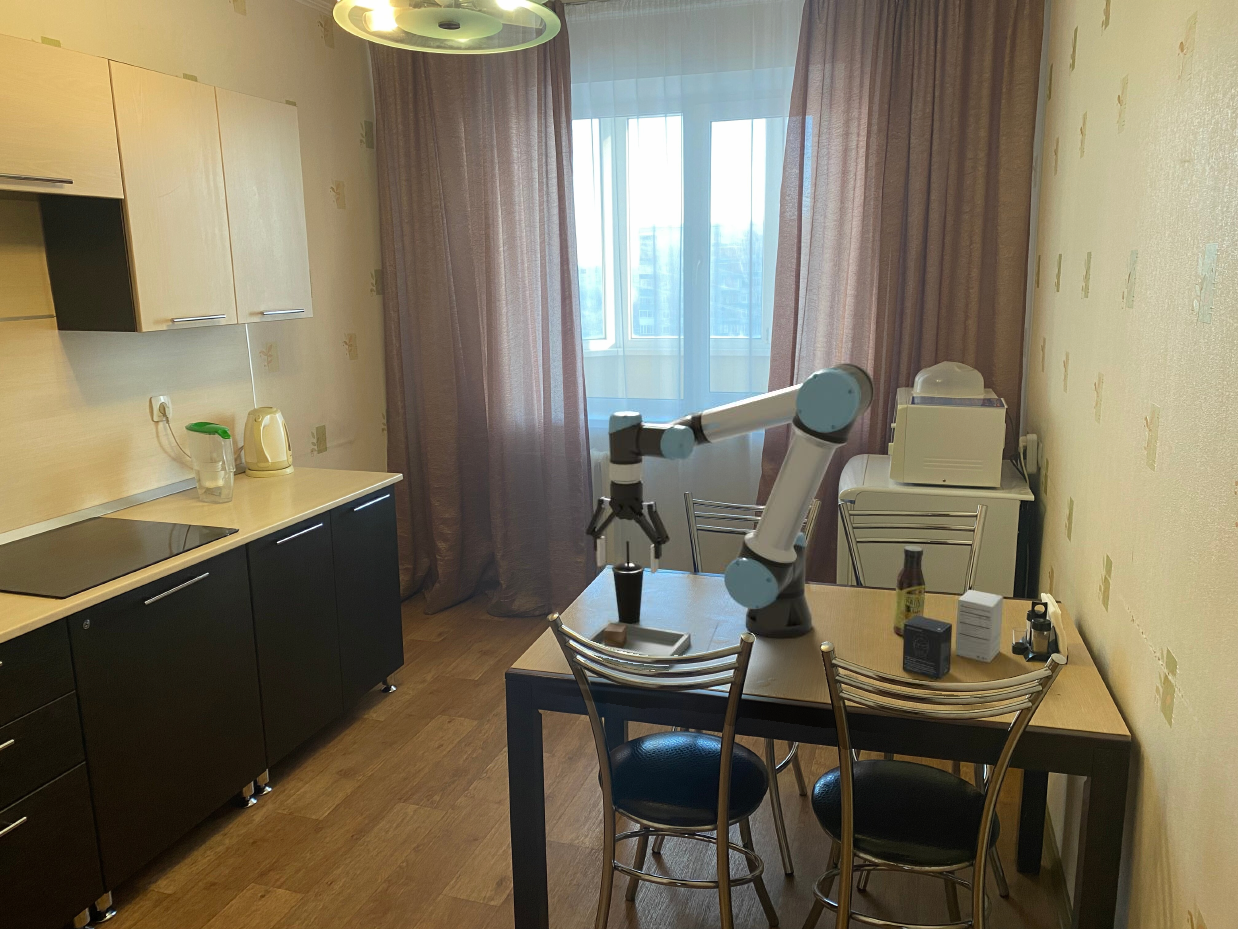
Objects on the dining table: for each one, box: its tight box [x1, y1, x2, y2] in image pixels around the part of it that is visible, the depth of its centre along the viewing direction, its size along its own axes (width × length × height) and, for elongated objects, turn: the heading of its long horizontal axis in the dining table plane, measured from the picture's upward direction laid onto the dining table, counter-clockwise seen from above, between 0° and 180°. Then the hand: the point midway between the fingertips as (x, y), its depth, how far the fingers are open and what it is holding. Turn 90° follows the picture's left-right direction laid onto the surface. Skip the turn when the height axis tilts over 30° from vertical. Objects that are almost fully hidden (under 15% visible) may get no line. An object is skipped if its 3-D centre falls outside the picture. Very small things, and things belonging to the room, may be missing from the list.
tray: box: [586, 620, 692, 669], centre depth 197 cm, size 20×14×3 cm
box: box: [902, 615, 953, 681], centre depth 183 cm, size 8×6×11 cm
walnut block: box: [604, 624, 627, 649], centre depth 199 cm, size 4×4×4 cm
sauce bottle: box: [893, 545, 927, 636], centre depth 201 cm, size 7×6×20 cm
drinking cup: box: [611, 540, 645, 625], centre depth 211 cm, size 8×8×20 cm
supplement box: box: [954, 589, 1004, 663], centre depth 191 cm, size 7×7×13 cm
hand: (627, 568), depth 210 cm, fingers open, 13 cm apart
